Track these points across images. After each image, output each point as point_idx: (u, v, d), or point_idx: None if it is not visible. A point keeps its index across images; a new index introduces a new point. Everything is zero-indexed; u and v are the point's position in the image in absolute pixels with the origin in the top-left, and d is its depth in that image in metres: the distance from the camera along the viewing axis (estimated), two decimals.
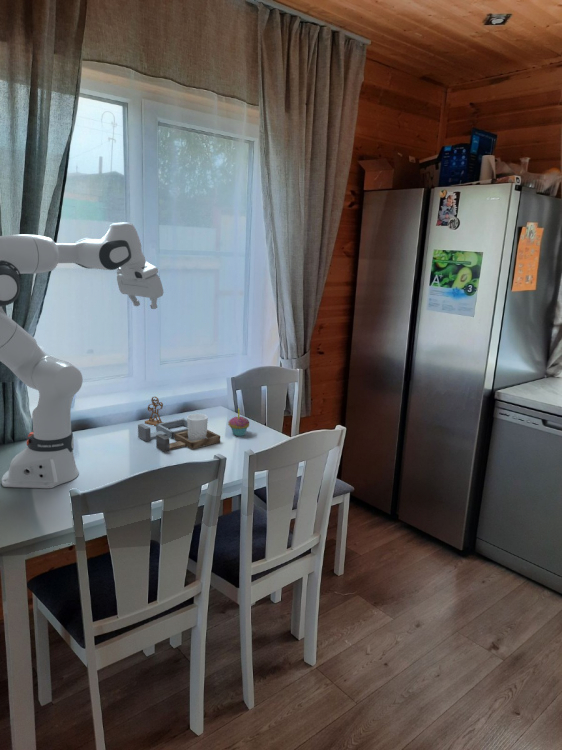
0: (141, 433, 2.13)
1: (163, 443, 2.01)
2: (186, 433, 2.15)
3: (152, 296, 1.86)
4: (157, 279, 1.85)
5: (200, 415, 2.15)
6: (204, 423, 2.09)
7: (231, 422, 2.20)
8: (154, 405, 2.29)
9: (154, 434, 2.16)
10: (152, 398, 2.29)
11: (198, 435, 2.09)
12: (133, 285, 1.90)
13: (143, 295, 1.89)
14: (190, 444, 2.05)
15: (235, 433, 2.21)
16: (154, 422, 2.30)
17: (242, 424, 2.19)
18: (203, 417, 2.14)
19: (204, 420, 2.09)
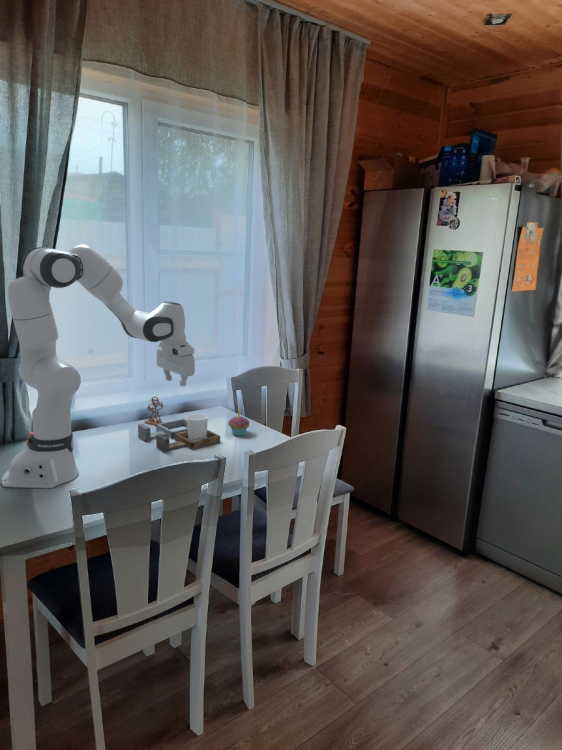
0: (141, 433, 2.13)
1: (163, 443, 2.01)
2: (186, 433, 2.15)
3: (183, 374, 1.95)
4: (192, 359, 1.94)
5: (200, 415, 2.15)
6: (204, 423, 2.09)
7: (231, 422, 2.20)
8: (154, 405, 2.29)
9: (154, 434, 2.16)
10: (152, 398, 2.29)
11: (198, 435, 2.09)
12: (169, 360, 2.00)
13: (175, 371, 1.98)
14: (190, 444, 2.05)
15: (235, 433, 2.21)
16: (154, 422, 2.30)
17: (242, 424, 2.19)
18: (203, 417, 2.14)
19: (204, 420, 2.09)
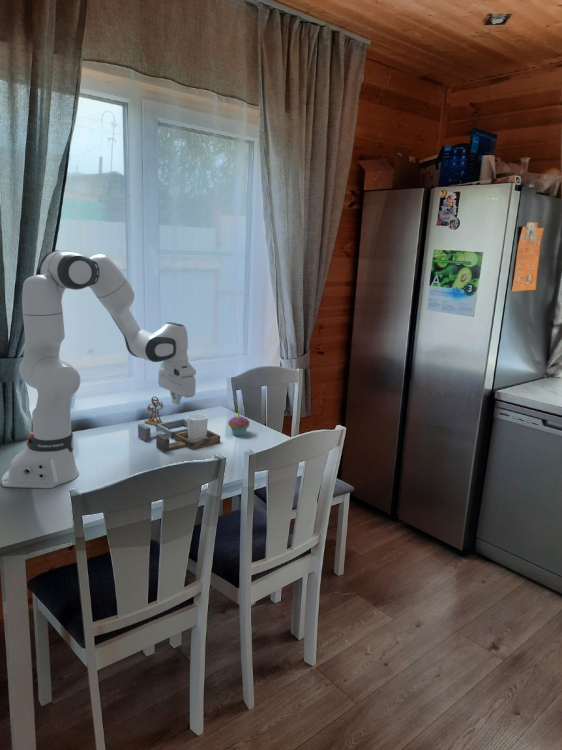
0: (141, 433, 2.13)
1: (163, 443, 2.01)
2: (186, 433, 2.15)
3: (183, 394, 1.95)
4: (193, 380, 1.95)
5: (200, 415, 2.15)
6: (204, 423, 2.09)
7: (231, 422, 2.20)
8: (154, 405, 2.29)
9: (154, 434, 2.16)
10: (152, 398, 2.29)
11: (198, 435, 2.09)
12: (170, 380, 2.01)
13: (176, 392, 1.99)
14: (190, 444, 2.05)
15: (235, 433, 2.21)
16: (154, 422, 2.30)
17: (242, 424, 2.19)
18: (203, 417, 2.14)
19: (204, 420, 2.09)
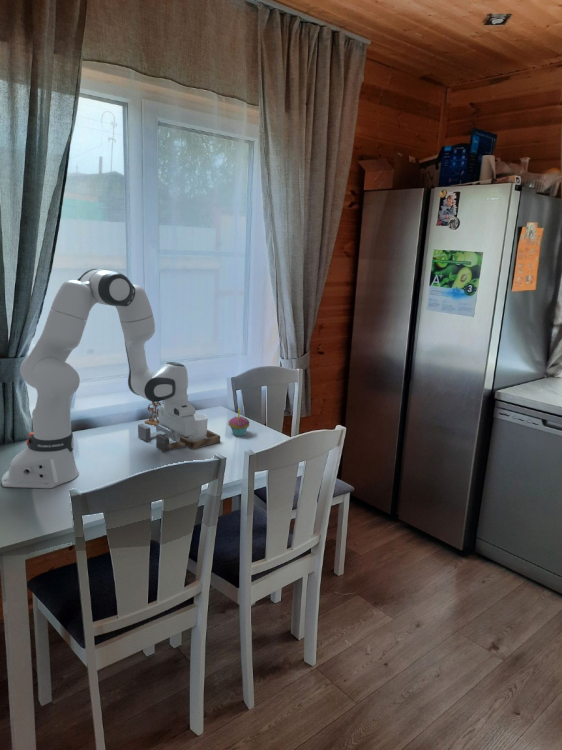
0: (141, 433, 2.13)
1: (163, 443, 2.01)
2: None
3: (183, 433, 1.98)
4: (192, 420, 1.98)
5: (200, 415, 2.15)
6: (204, 423, 2.09)
7: (231, 422, 2.20)
8: (154, 405, 2.29)
9: (154, 434, 2.16)
10: None
11: (198, 435, 2.09)
12: (170, 418, 2.05)
13: (176, 430, 2.02)
14: (190, 444, 2.05)
15: (235, 433, 2.21)
16: (154, 422, 2.30)
17: (242, 424, 2.19)
18: (203, 417, 2.14)
19: (204, 420, 2.09)
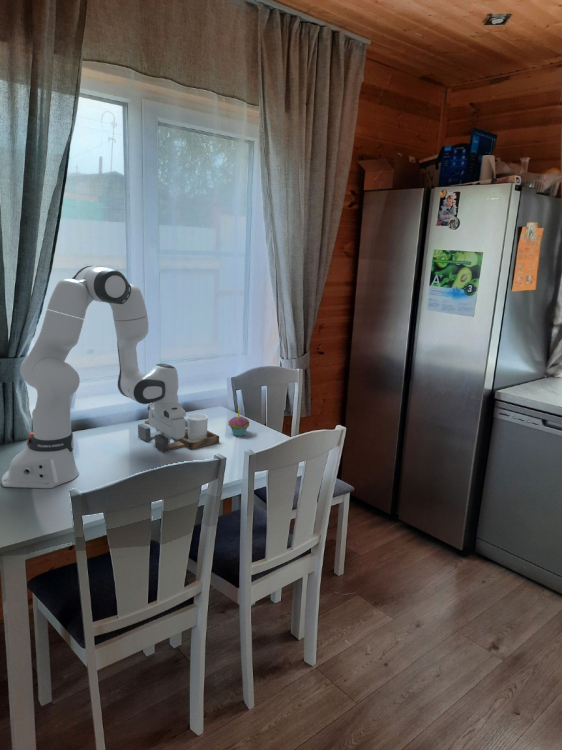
0: (141, 433, 2.13)
1: (161, 443, 2.01)
2: (185, 433, 2.15)
3: (173, 436, 1.96)
4: (182, 422, 1.96)
5: (200, 415, 2.15)
6: (204, 423, 2.09)
7: (231, 422, 2.20)
8: None
9: (154, 434, 2.16)
10: None
11: (198, 435, 2.09)
12: (160, 421, 2.02)
13: (166, 433, 1.99)
14: (189, 444, 2.05)
15: (235, 433, 2.21)
16: None
17: (242, 424, 2.19)
18: (203, 417, 2.14)
19: (204, 420, 2.09)
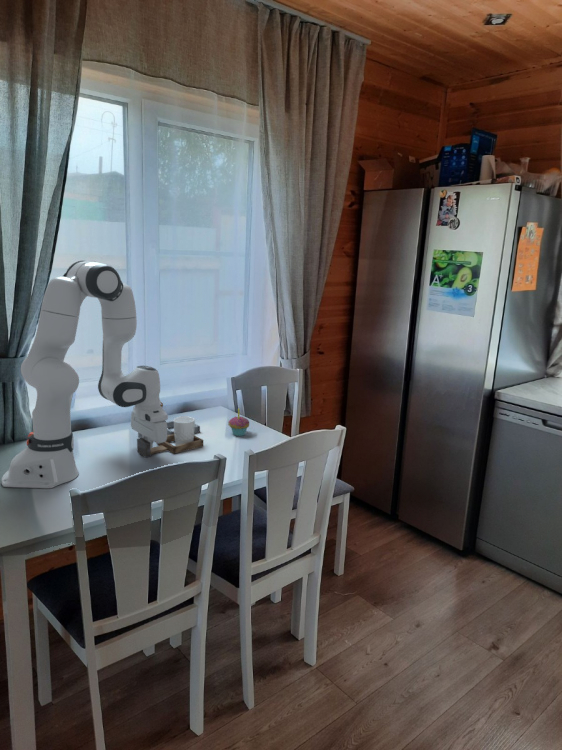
0: None
1: (143, 448, 1.96)
2: (169, 437, 2.10)
3: (155, 440, 1.91)
4: (164, 426, 1.91)
5: (187, 418, 2.11)
6: (191, 426, 2.06)
7: (231, 422, 2.20)
8: None
9: None
10: None
11: (185, 438, 2.06)
12: (142, 424, 1.97)
13: (148, 436, 1.94)
14: (172, 448, 2.00)
15: (235, 433, 2.21)
16: None
17: (242, 424, 2.19)
18: (190, 420, 2.11)
19: (191, 423, 2.05)
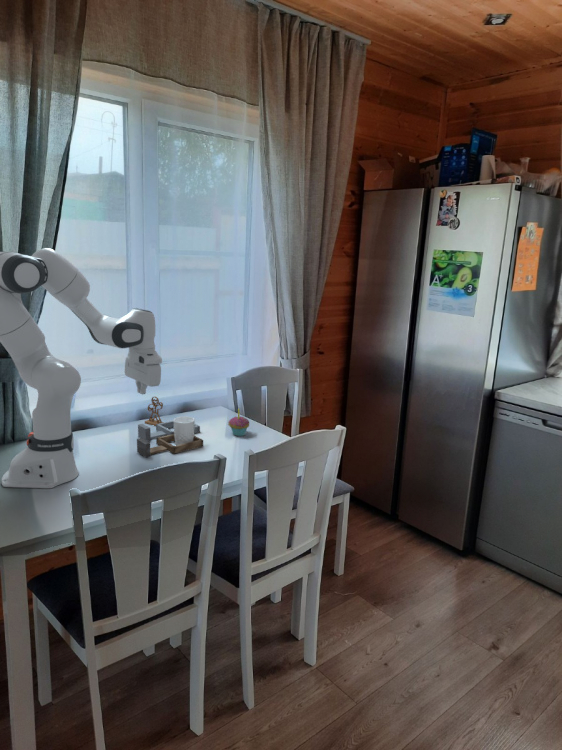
0: (141, 433, 2.13)
1: (143, 448, 1.96)
2: (168, 437, 2.10)
3: (148, 383, 1.88)
4: (158, 369, 1.88)
5: (187, 418, 2.11)
6: (191, 426, 2.05)
7: (231, 422, 2.20)
8: (154, 405, 2.29)
9: (154, 434, 2.16)
10: (152, 398, 2.29)
11: (184, 438, 2.06)
12: (136, 369, 1.94)
13: (141, 381, 1.91)
14: (171, 449, 2.00)
15: (235, 433, 2.21)
16: (154, 422, 2.30)
17: (242, 424, 2.19)
18: (190, 420, 2.11)
19: (191, 423, 2.05)
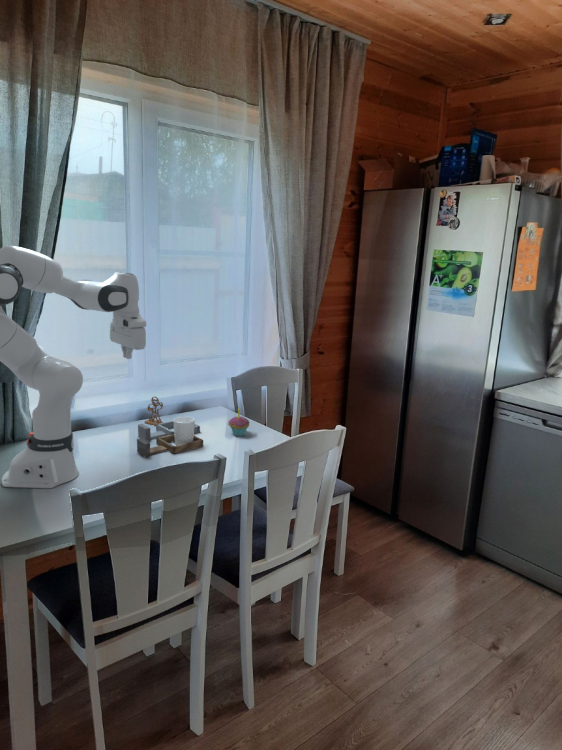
0: (141, 433, 2.13)
1: (143, 448, 1.96)
2: (168, 437, 2.10)
3: (133, 347, 1.87)
4: (143, 332, 1.87)
5: (187, 418, 2.11)
6: (191, 426, 2.05)
7: (231, 422, 2.20)
8: (154, 405, 2.29)
9: (154, 434, 2.16)
10: (152, 398, 2.29)
11: (184, 438, 2.06)
12: (121, 333, 1.93)
13: (126, 345, 1.91)
14: (171, 449, 2.00)
15: (235, 433, 2.21)
16: (154, 422, 2.30)
17: (242, 424, 2.19)
18: (190, 420, 2.11)
19: (191, 423, 2.05)
